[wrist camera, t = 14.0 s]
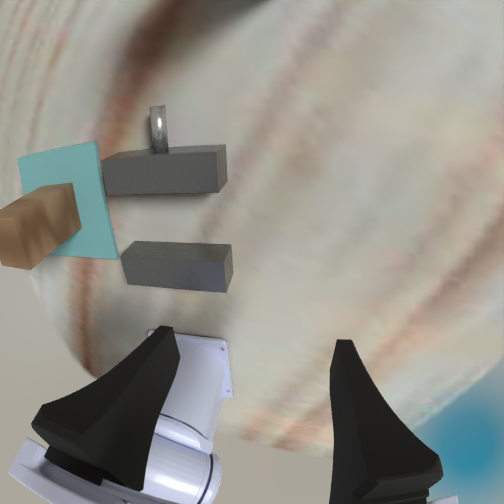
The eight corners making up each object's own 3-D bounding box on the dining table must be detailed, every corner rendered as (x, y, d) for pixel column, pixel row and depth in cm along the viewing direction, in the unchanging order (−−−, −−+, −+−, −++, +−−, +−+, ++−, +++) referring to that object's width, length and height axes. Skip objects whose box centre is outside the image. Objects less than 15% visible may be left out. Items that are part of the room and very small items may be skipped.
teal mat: (119, 256, 24) (116, 259, 24) (43, 251, 26) (41, 253, 25) (97, 141, 20) (94, 142, 19) (20, 157, 21) (17, 159, 21)
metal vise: (233, 273, 24) (226, 292, 21) (140, 267, 25) (127, 284, 22) (223, 99, 17) (213, 100, 15) (115, 112, 18) (95, 117, 16)
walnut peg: (82, 227, 23) (30, 270, 17) (51, 226, 24) (2, 265, 17) (72, 182, 21) (13, 217, 15) (42, 185, 22) (-14, 218, 16)
